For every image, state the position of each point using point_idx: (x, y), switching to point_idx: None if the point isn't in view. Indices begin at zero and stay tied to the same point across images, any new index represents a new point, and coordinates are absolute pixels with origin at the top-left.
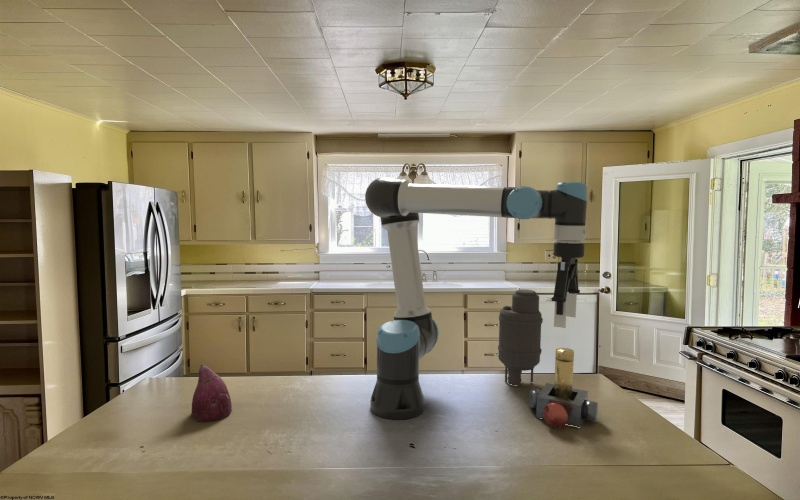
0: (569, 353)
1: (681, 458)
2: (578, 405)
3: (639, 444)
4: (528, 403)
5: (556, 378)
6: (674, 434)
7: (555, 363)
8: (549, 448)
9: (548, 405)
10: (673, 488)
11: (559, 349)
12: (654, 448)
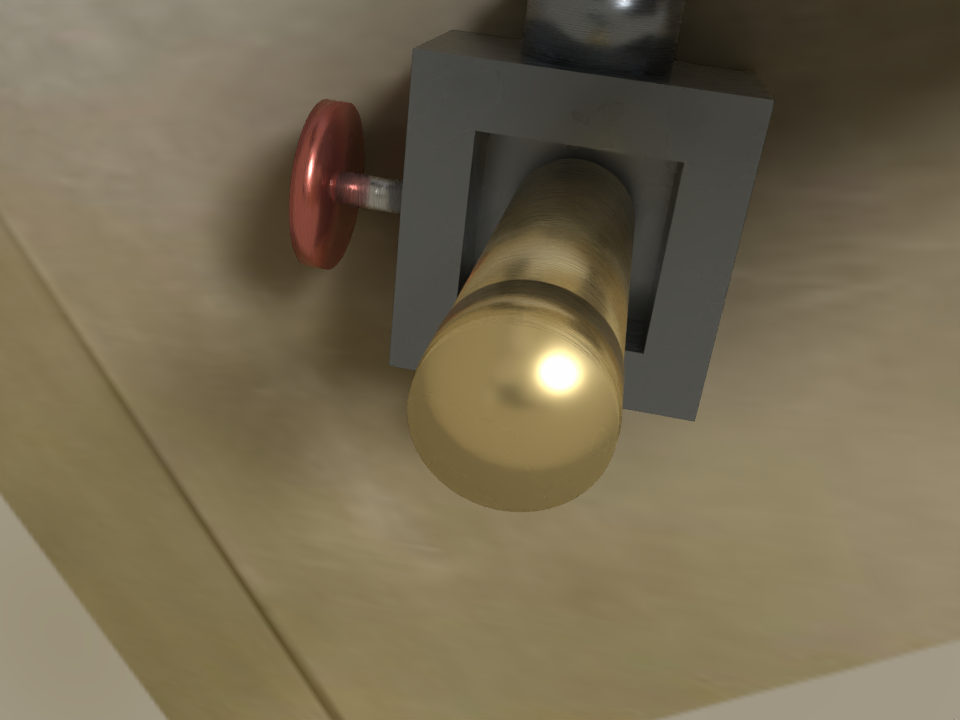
0: (427, 462)
1: (351, 675)
2: (390, 349)
3: (395, 555)
4: None
5: (496, 235)
6: (580, 706)
7: (518, 263)
8: (113, 151)
9: (298, 152)
10: (104, 598)
11: (511, 364)
12: (388, 603)
